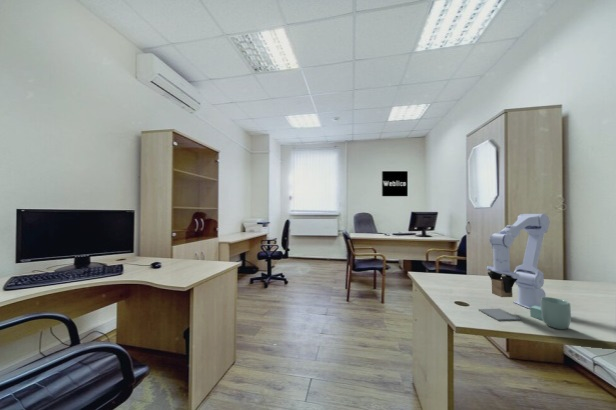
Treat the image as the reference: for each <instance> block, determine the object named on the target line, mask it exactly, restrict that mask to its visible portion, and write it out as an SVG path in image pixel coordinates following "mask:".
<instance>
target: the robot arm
mask: <svg viewBox="0 0 616 410" xmlns="http://www.w3.org/2000/svg"><path fill="white" fill-rule="evenodd" d="M550 221H551V220H550V217H549V216H548V215H547V213H520V214H519V215H517V220H515V222H514V223H513V224H510V225H509V224H507V225H505V227H504V228H502V229H501V230H500V231H498V232H497V233H495V232H494V233H492V234H491V235H490V236H489V243H490V245H491V246H490V247H491V249H492V255H493V257H492V258H493V260H492V261H493V266H491V265H487V266H486V271H488V272H487V275H488V276H489V278H490V280H491V281H492V279H502V280H503V283H504V291H505V292H506V293H511V290H512V291H513V287H514V285H516V286H517V300H514V301H512V302H513V303H515V304H517V305H519V306H522V307H525V308H527V309H529V310H530V307H532V306H539V307H541V298H542V297H547V296H546V292H545V290H544V289H543V288H542V287H543V286H544V284H545V280H544V275H545V274H544V272H543V271H542V270H540V269H539V267H538V263H539V259H540V254H541V251H542V249H541V248H542V244H543V240H544V236H545V234H546V233H548V230H549V227H550ZM521 231H524V232H526V233H528V236H527V243H526V246H525V251H524V256H523V260H522V264H520V265H516V266H515V269H514V270H513V271H512V270H511V264H510V263H511V261H510V258H511V257H510V255H511V254H510V247H512V246H513V242H514V240H515V239H516V238H517V237H518V236H520V234H521Z"/></svg>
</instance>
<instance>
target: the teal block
mask: <svg viewBox="0 0 616 410" xmlns="http://www.w3.org/2000/svg"><path fill="white" fill-rule="evenodd" d="M529 310H530V311H529V312H530V317H531V318H536V319H538V320H541V321H543V319H542V315H541V307H539V306H532V307H530V309H529Z"/></svg>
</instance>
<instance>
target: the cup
mask: <svg viewBox="0 0 616 410" xmlns="http://www.w3.org/2000/svg"><path fill="white" fill-rule="evenodd" d="M541 315H542V319H543V320H542V321H543V323H544V324H545V325H547V326H549V327H551V328H553V329H558V330H567V329H568V328H569V327H570V326H571V321H572V310H571V303H570V302H569V301H567V300H564V299H561V298H556V297H549V296H546V297H542V298H541Z"/></svg>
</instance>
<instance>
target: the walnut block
mask: <svg viewBox="0 0 616 410" xmlns="http://www.w3.org/2000/svg"><path fill="white" fill-rule="evenodd" d="M491 293H492V294H493V295H495V296H497V297H500V298H513V289H512V290H511V293H506V292H505V291H504V283H503V280H502V278H501V279H492V280H491Z"/></svg>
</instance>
